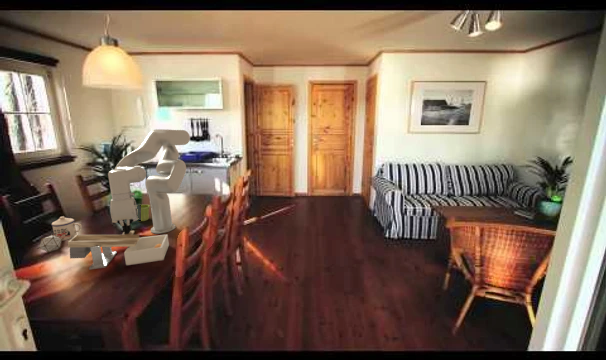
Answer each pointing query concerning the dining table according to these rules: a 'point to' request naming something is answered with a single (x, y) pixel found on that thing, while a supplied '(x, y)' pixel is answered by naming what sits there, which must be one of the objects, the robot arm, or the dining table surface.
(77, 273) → the dining table surface
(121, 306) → the dining table surface
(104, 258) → the lever stand
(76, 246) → the lever
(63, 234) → the teacup with lid
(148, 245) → the bin
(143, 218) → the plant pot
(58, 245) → the game die
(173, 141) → the robot arm
